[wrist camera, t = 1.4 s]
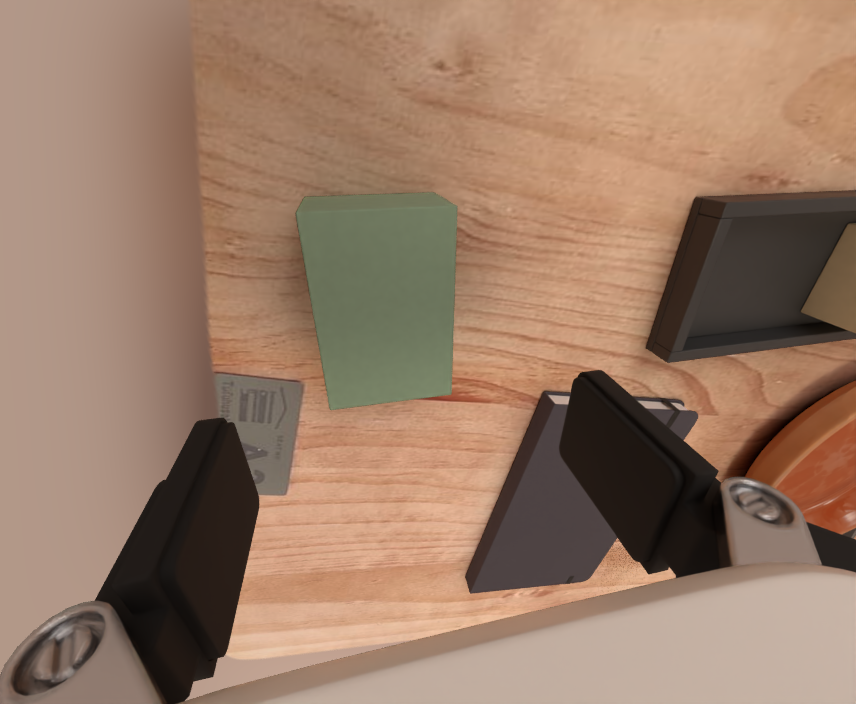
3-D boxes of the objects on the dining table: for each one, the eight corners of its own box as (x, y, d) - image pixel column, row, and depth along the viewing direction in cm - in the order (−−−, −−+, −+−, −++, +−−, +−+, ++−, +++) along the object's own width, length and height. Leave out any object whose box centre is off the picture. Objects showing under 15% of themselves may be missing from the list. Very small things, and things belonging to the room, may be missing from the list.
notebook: (543, 390, 25) (465, 576, 35) (555, 404, 24) (469, 594, 34) (686, 399, 29) (579, 566, 39) (703, 412, 28) (587, 582, 37)
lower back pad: (331, 366, 21) (329, 410, 18) (303, 196, 17) (295, 211, 13) (434, 355, 22) (451, 394, 19) (434, 191, 18) (458, 205, 14)
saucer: (944, 426, 40) (996, 450, 37) (752, 546, 45) (783, 577, 42) (939, 291, 29) (1013, 311, 26) (685, 471, 34) (720, 506, 31)
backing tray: (695, 197, 21) (727, 202, 19) (979, 185, 24) (1026, 188, 23) (645, 348, 25) (667, 363, 24) (888, 319, 29) (922, 330, 27)
